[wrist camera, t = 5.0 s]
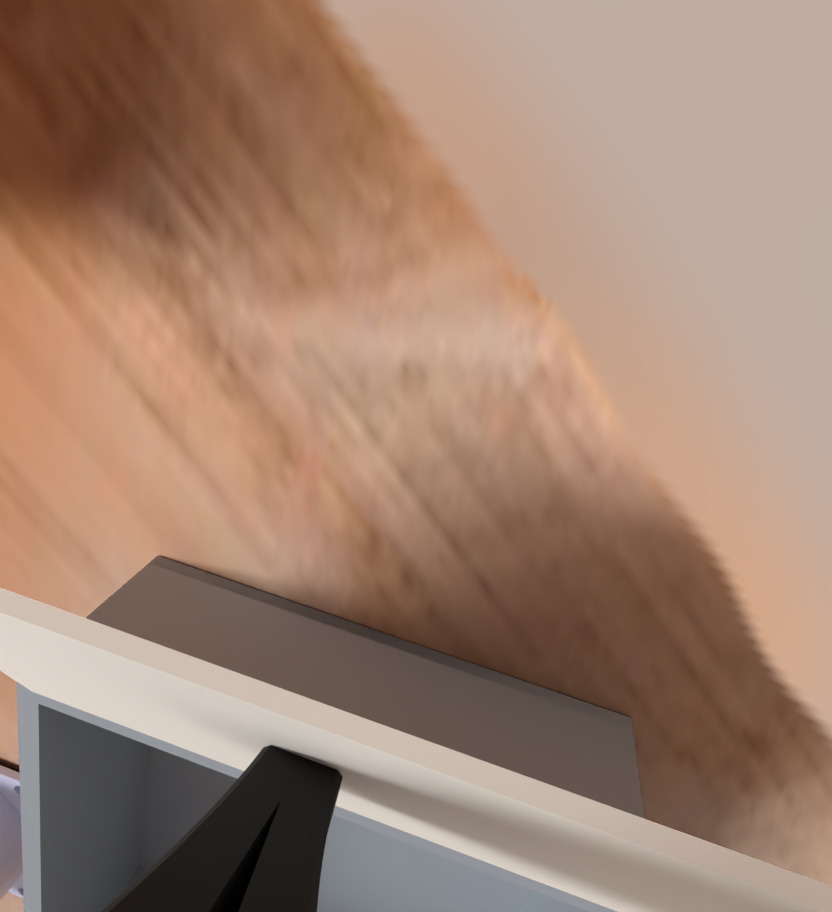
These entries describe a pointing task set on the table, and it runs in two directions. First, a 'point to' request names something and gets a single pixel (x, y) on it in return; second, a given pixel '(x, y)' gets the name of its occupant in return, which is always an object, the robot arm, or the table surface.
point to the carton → (205, 780)
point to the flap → (391, 772)
